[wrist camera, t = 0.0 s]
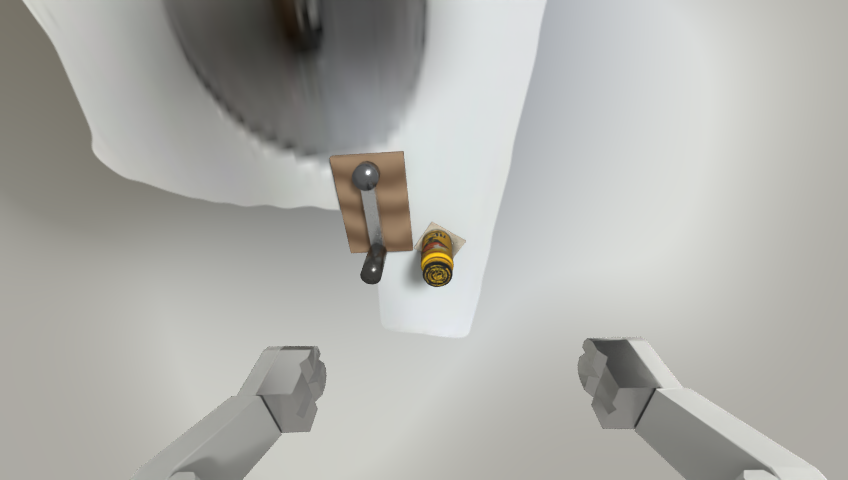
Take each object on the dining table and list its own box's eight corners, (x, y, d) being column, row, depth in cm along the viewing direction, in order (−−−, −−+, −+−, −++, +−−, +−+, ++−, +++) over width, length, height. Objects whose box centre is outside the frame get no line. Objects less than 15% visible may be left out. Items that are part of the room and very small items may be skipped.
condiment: (431, 221, 61) (431, 253, 50) (466, 240, 63) (473, 275, 52) (413, 247, 64) (410, 283, 54) (447, 264, 66) (449, 302, 56)
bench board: (331, 155, 54) (329, 157, 53) (403, 151, 54) (402, 153, 52) (352, 249, 65) (350, 253, 63) (413, 246, 64) (412, 250, 63)
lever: (353, 161, 53) (337, 181, 44) (378, 160, 53) (367, 180, 44) (370, 252, 62) (360, 284, 53) (391, 251, 62) (384, 283, 53)
